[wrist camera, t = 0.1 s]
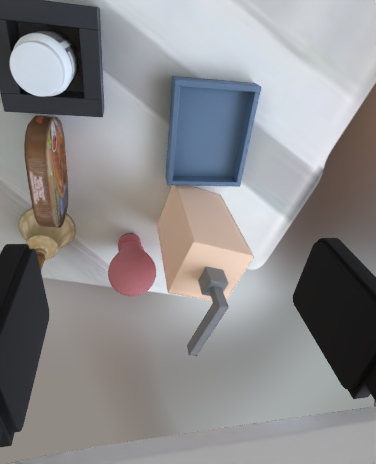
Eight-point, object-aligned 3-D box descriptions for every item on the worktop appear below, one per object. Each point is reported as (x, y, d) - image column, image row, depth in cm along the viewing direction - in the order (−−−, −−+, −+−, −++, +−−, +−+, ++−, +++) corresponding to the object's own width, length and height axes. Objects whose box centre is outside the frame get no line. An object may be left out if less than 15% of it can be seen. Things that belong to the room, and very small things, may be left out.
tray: (172, 75, 40) (175, 79, 38) (254, 83, 43) (261, 86, 41) (165, 177, 48) (167, 185, 46) (235, 179, 51) (239, 186, 49)
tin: (69, 209, 49) (61, 240, 42) (48, 208, 48) (35, 240, 41) (62, 109, 41) (50, 128, 34) (36, 106, 40) (18, 125, 33)
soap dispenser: (174, 180, 49) (203, 275, 31) (221, 195, 52) (273, 289, 34) (148, 243, 55) (160, 352, 37) (192, 253, 58) (222, 358, 40)
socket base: (-8, -6, 33) (-22, -8, 30) (99, 7, 35) (97, 7, 32) (14, 103, 39) (4, 111, 36) (104, 109, 41) (102, 117, 38)
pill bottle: (18, 59, 37) (-10, 72, 29) (45, 17, 35) (22, 18, 27) (62, 94, 40) (47, 115, 32) (89, 56, 38) (80, 68, 30)
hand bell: (85, 237, 52) (73, 310, 39) (41, 255, 53) (14, 333, 40) (55, 197, 47) (31, 266, 34) (7, 218, 48) (-35, 293, 35)
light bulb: (159, 243, 56) (167, 292, 46) (125, 261, 57) (126, 313, 47) (137, 215, 51) (140, 262, 42) (101, 235, 52) (96, 285, 43)
